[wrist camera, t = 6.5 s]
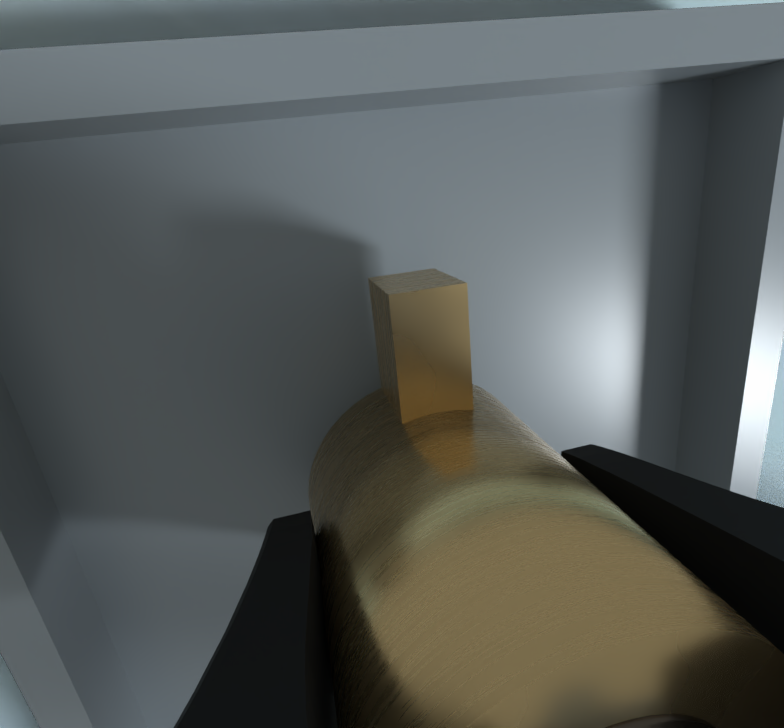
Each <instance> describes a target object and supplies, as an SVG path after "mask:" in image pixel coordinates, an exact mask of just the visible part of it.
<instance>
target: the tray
mask: <svg viewBox="0 0 784 728" xmlns="http://www.w3.org/2000/svg"><path fill="white" fill-rule="evenodd" d="M433 268H434V269H437V270H439V271H441V272H443V273H446V274H448V275H450V276H453V277H455V278H457V279H459V280H462V281H464V282H466V283H467V288H468V308H469V328H470V348H471V368H472V384H474V385H476V386H479V387H481V388H483V389H484V390H486V391H487V392H489V393H490V394H492V395H493V396H494V397H496V398H497V399H498V400H499V401H500V402H501V403H502V404H503V405H505V406H506V407H507V408H508V409H509V410H510V411H511V412H512V413H514V414H515V415H516V416H517V417H518V418H519V419H520V420H521V421H523V422H524V423H525V424H526V425H527V426H528V427H529V428H530V429H532V430H533V431H534V432H535V433H536V434H537V435H538V436H539V437H540V438H542V439H543V440H544V441H545V442H546V443H547V444H548V445H549V446H551V447H552V448H553V449H554V450H555V451H556V452H557V453H558V454H560V455H561V451H564V450H568V449H572V448H576V447H581V446H585V445H589V444H593V445H597V446H601V447H604V448H608V449H611V450H614V451H617V452H620V453H623V454H626V455H629V456H632V457H635V458H638V459H641V460H644V461H647V462H649V463H652V464H655V465H658V466H661V467H663V468H666V469H669V470H672V471H675V472H677V473H680V474H683V475H686V476H689V477H692V478H694V479H697V480H700V481H703V482H706V483H709V484H712V485H714V486H717V487H720V488H723V489H726V490H729V491H732V492H735V493H738V494H741V495H744V496H747V497H750V498H753V499H756V497H757V491H758V485H759V479H760V473H761V467H762V461H763V455H764V449H765V443H766V438H767V432H768V426H769V420H770V414H771V408H772V402H773V396H774V390H775V384H776V378H777V372H778V366H779V360H780V354H781V348H782V342H783V336H784V2H781V3H765V4H748V5H731V6H715V7H698V8H682V9H665V10H649V11H632V12H616V13H599V14H583V15H566V16H550V17H533V18H517V19H500V20H484V21H467V22H450V23H434V24H417V25H401V26H384V27H368V28H351V29H335V30H318V31H302V32H285V33H269V34H252V35H236V36H219V37H202V38H186V39H169V40H153V41H136V42H120V43H103V44H87V45H70V46H54V47H37V48H21V49H4V50H0V653H1V655H2V657H3V659H4V660H5V662H6V664H7V666H8V668H9V670H10V672H11V674H12V676H13V678H14V679H15V681H16V683H17V685H18V687H19V689H20V691H21V693H22V695H23V697H24V699H25V700H26V702H27V704H28V706H29V708H30V710H31V712H32V714H33V716H34V718H35V720H36V721H37V723H38V725H39V727H40V728H174V726H175V724H176V723H177V721H178V719H179V717H180V715H181V714H182V712H183V710H184V708H185V707H186V705H187V703H188V701H189V700H190V698H191V696H192V694H193V692H194V691H195V689H196V687H197V685H198V683H199V681H200V679H201V677H202V675H203V673H204V671H205V669H206V668H207V666H208V664H209V662H210V660H211V658H212V656H213V654H214V652H215V650H216V648H217V646H218V644H219V643H220V641H221V639H222V637H223V635H224V633H225V631H226V628H227V626H228V624H229V622H230V620H231V618H232V616H233V613H234V611H235V609H236V607H237V604H238V602H239V600H240V598H241V596H242V593H243V591H244V589H245V587H246V585H247V582H248V580H249V577H250V575H251V572H252V570H253V567H254V565H255V562H256V560H257V557H258V555H259V552H260V549H261V546H262V543H263V541H264V538H265V535H266V531H267V528H268V526H269V524H270V523H271V522H272V520H273V519H275V518H280V517H284V516H288V515H292V514H297V513H301V512H305V511H309V510H310V504H309V496H308V489H309V477H310V472H311V467H312V464H313V461H314V458H315V455H316V452H317V450H318V448H319V446H320V444H321V442H322V440H323V439H324V437H325V436H326V434H327V433H328V431H329V430H330V428H331V427H332V426H333V425H334V423H335V422H336V421H337V420H338V419H339V418H340V417H341V416H342V415H343V414H344V413H345V412H346V411H347V410H348V409H349V408H350V407H352V406H353V405H354V404H355V403H357V402H358V401H360V400H361V399H362V398H364V397H365V396H367V395H369V394H370V393H372V392H374V391H376V390H378V389H380V388H381V382H380V374H379V366H378V358H377V349H376V341H375V333H374V324H373V316H372V308H371V299H370V291H369V283H368V278H370V277H377V276H384V275H391V274H398V273H405V272H412V271H419V270H426V269H433Z"/></svg>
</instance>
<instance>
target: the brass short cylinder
mask: <svg viewBox="0 0 784 728" xmlns="http://www.w3.org/2000/svg"><path fill="white" fill-rule="evenodd" d="M368 283H369V291H370V299H371V308H372V316H373V324H374V333H375V341H376V349H377V358H378V366H379V374H380V382H381V388H380V389H378V390H376V391H374V392H372V393H370V394H369V395H367V396H365V397H364V398H362V399H361V400H360V401H358V402H357V403H355V404H354V405H353V406H352V407H350V408H349V409H348V410H347V411H346V412H345V413H344V414H343V415H342V416H341V417H340V418H339V419H338V420H337V421H336V422H335V423H334V425H333V426H332V427H331V428H330V430H329V431H328V433H327V434H326V436H325V437H324V439H323V440H322V442H321V444H320V446H319V448H318V450H317V452H316V455H315V458H314V461H313V464H312V467H311V472H310V477H309V489H308V496H309V504H310V511H311V516H312V521H313V526H314V531H315V536H316V543H317V550H318V558H319V565H320V573H321V581H322V595H323V609H324V620H325V628H326V637H327V645H328V653H329V661H330V669H331V677H332V684H333V692H334V700H335V708H336V716H337V723H338V728H784V654H783V653H782V652H781V651H780V650H779V649H777V648H776V647H775V646H774V645H773V644H772V643H771V642H770V641H769V640H767V639H766V638H765V637H764V636H763V635H762V634H761V633H760V632H758V631H757V630H756V629H755V628H754V627H753V626H752V625H751V624H749V623H748V622H747V621H746V620H745V619H744V618H743V617H742V616H740V615H739V614H738V613H737V612H736V611H735V610H734V609H733V608H731V607H730V606H729V605H728V604H727V603H726V602H725V601H724V600H722V599H721V598H720V597H719V596H718V595H717V594H716V593H715V592H713V591H712V590H711V589H710V588H709V587H708V586H707V585H706V584H704V583H703V582H702V581H701V580H700V579H699V578H698V577H697V576H695V575H694V574H693V573H692V572H691V571H690V570H689V569H688V568H687V567H685V566H684V565H683V564H682V563H681V562H680V561H679V560H678V559H676V558H675V557H674V556H673V555H672V554H671V553H670V552H669V551H667V550H666V549H665V548H664V547H663V546H662V545H661V544H660V543H658V542H657V541H656V540H655V539H654V538H653V537H652V536H651V535H649V534H648V533H647V532H646V531H645V530H644V529H643V528H642V527H640V526H639V525H638V524H637V523H636V522H635V521H634V520H633V519H631V518H630V517H629V516H628V515H627V514H626V513H625V512H624V511H622V510H621V509H620V508H619V507H618V506H617V505H616V504H615V503H614V502H612V501H611V500H610V499H609V498H608V497H607V496H606V495H605V494H603V493H602V492H601V491H600V490H599V489H598V488H597V487H596V486H594V485H593V484H592V483H591V482H590V481H589V480H588V479H587V478H585V477H584V476H583V475H582V474H581V473H580V472H579V471H578V470H576V469H575V468H574V467H573V466H572V465H571V464H570V463H569V462H567V461H566V460H565V459H564V458H563V457H562V456H561V455H560V454H558V453H557V452H556V451H555V450H554V449H553V448H552V447H551V446H549V445H548V444H547V443H546V442H545V441H544V440H543V439H542V438H540V437H539V436H538V435H537V434H536V433H535V432H534V431H533V430H532V429H530V428H529V427H528V426H527V425H526V424H525V423H524V422H523V421H521V420H520V419H519V418H518V417H517V416H516V415H515V414H514V413H512V412H511V411H510V410H509V409H508V408H507V407H506V406H505V405H503V404H502V403H501V402H500V401H499V400H498V399H497V398H496V397H494V396H493V395H492V394H490V393H489V392H487V391H486V390H484V389H483V388H481V387H479V386H476V385H474V384H472V368H471V348H470V328H469V308H468V288H467V283H466V282H464V281H462V280H459V279H457V278H455V277H453V276H450V275H448V274H446V273H443V272H441V271H439V270H437V269H434V268H433V269H426V270H419V271H412V272H405V273H398V274H391V275H384V276H377V277H370V278H368Z"/></svg>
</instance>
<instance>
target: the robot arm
mask: <svg viewBox="0 0 784 728" xmlns="http://www.w3.org/2000/svg"><path fill="white" fill-rule="evenodd" d="M561 456H562V457H563V458H564V459H565V460H566V461H567V462H569V463H570V464H571V465H572V466H573V467H574V468H575V469H576V470H578V471H579V472H580V473H581V474H582V475H583V476H584V477H585V478H587V479H588V480H589V481H590V482H591V483H592V484H593V485H594V486H596V487H597V488H598V489H599V490H600V491H601V492H602V493H603V494H605V495H606V496H607V497H608V498H609V499H610V500H611V501H612V502H614V503H615V504H616V505H617V506H618V507H619V508H620V509H621V510H622V511H624V512H625V513H626V514H627V515H628V516H629V517H630V518H631V519H633V520H634V521H635V522H636V523H637V524H638V525H639V526H640V527H642V528H643V529H644V530H645V531H646V532H647V533H648V534H649V535H651V536H652V537H653V538H654V539H655V540H656V541H657V542H658V543H660V544H661V545H662V546H663V547H664V548H665V549H666V550H667V551H669V552H670V553H671V554H672V555H673V556H674V557H675V558H676V559H678V560H679V561H680V562H681V563H682V564H683V565H684V566H685V567H687V568H688V569H689V570H690V571H691V572H692V573H693V574H694V575H695V576H697V577H698V578H699V579H700V580H701V581H702V582H703V583H704V584H706V585H707V586H708V587H709V588H710V589H711V590H712V591H713V592H715V593H716V594H717V595H718V596H719V597H720V598H721V599H722V600H724V601H725V602H726V603H727V604H728V605H729V606H730V607H731V608H733V609H734V610H735V611H736V612H737V613H738V614H739V615H740V616H742V617H743V618H744V619H745V620H746V621H747V622H748V623H749V624H751V625H752V626H753V627H754V628H755V629H756V630H757V631H758V632H760V633H761V634H762V635H763V636H764V637H765V638H766V639H767V640H769V641H770V642H771V643H772V644H773V645H774V646H775V647H776V648H777V649H779V650H780V651H781V652H782V653H783V654H784V508H782V507H779V506H775V505H772V504H769V503H766V502H762V501H759V500H756V499H753V498H750V497H747V496H744V495H741V494H738V493H735V492H732V491H729V490H726V489H723V488H720V487H717V486H714V485H712V484H709V483H706V482H703V481H700V480H697V479H694V478H692V477H689V476H686V475H683V474H680V473H677V472H675V471H672V470H669V469H666V468H663V467H661V466H658V465H655V464H652V463H649V462H647V461H644V460H641V459H638V458H635V457H632V456H629V455H626V454H623V453H620V452H617V451H614V450H611V449H608V448H604V447H601V446H597V445H593V444H589V445H585V446H581V447H576V448H572V449H568V450H564V451H561ZM174 728H338V723H337V716H336V708H335V700H334V692H333V684H332V677H331V669H330V661H329V653H328V645H327V637H326V628H325V620H324V609H323V595H322V581H321V573H320V565H319V558H318V550H317V543H316V536H315V531H314V526H313V521H312V516H311V511H310V510H309V511H305V512H301V513H297V514H292V515H288V516H284V517H280V518H275V519H273V520H272V522H271V523H270V524H269V526H268V528H267V531H266V535H265V538H264V541H263V543H262V546H261V549H260V552H259V555H258V557H257V560H256V562H255V565H254V567H253V570H252V572H251V575H250V577H249V580H248V582H247V585H246V587H245V589H244V591H243V593H242V596H241V598H240V600H239V602H238V604H237V607H236V609H235V611H234V613H233V616H232V618H231V620H230V622H229V624H228V626H227V628H226V631H225V633H224V635H223V637H222V639H221V641H220V643H219V644H218V646H217V648H216V650H215V652H214V654H213V656H212V658H211V660H210V662H209V664H208V666H207V668H206V669H205V671H204V673H203V675H202V677H201V679H200V681H199V683H198V685H197V687H196V689H195V691H194V692H193V694H192V696H191V698H190V700H189V701H188V703H187V705H186V707H185V708H184V710H183V712H182V714H181V715H180V717H179V719H178V721H177V723H176V724H175V726H174Z"/></svg>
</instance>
